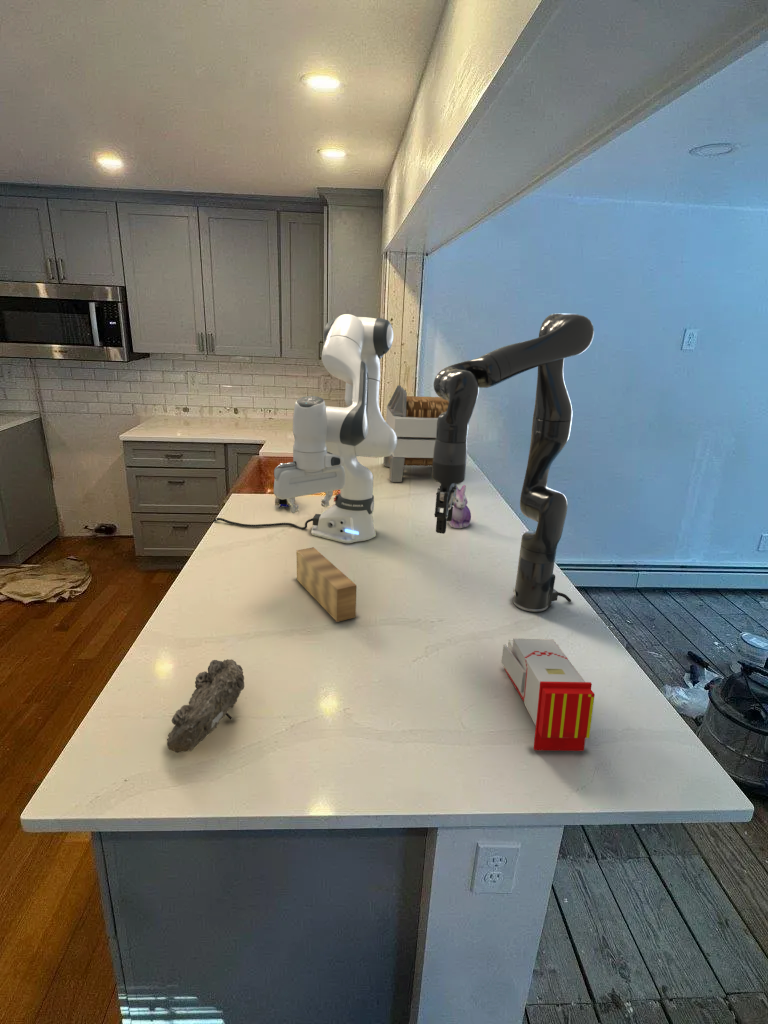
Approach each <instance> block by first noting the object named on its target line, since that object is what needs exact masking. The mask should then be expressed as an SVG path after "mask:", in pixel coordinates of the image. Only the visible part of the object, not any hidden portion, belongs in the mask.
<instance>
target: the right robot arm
mask: <svg viewBox="0 0 768 1024" xmlns="http://www.w3.org/2000/svg"><path fill="white" fill-rule="evenodd" d="M594 335H595V330H594V324H593V323H592V321H591V319H589V318H588V317H587V316H585V315H582V314H578V313H562V312H561V313H559V312H558V313H551V314H549V315H548V316H546V317H545V319H544V320H543V321H542V323H541V325H540V328H539V332H538V337H536V338H533V339H528V340H524V341H519V342H515V343H512V344H511V343H510V344H507V345H504V346H501V347H498V348H496V349H493V350H491V351H490V352H487V353H485V354H483V355H481V356H479V357H477V358H473V359H469V360H465V361H461V362H457V363H454V364H450V365H448V366H446V367H444V368H443V369H441V370H440V371H439V372H438V373H437V374H436V376H435V377H434V380H433V390H434V393H435V394H436V395H437V397H441V398H442V399H445V400H448V401H449V405H448V408H447V412H444V413H441V414H440V415H439V417H438V419H437V429H436V440H435V445H434V453H433V466H432V465H431V467H432V468H431V479H432V480H434V481H435V482H438V483H440V484H439V487H438V488H437V491H436V493H435V495H436V496H435V497H436V498H435V508H434V509H435V510H434V514H433V515H434V518H436V523H435V532H436V534H442V535H444V534H446V533H447V524H448V522H449V521H451V520H452V514H453V507H454V504H455V502H454V501H455V500H456V492H457V487H458V484H462V483H463V482H464V481H465V479H466V469H467V459H468V437H469V425H470V421H471V418H472V416H473V413H474V409H475V407H476V404H477V401H478V397H479V392H480V388H481V389H487V388H492V387H494V386H496V385H499V384H501V383H503V382H506V381H507V380H509V379H511V378H513V377H516V376H518V375H520V374H522V373H525V372H528V371H529V370H532V369H535V368H537V376H536V377H537V378H536V389H535V401H534V408H533V415H532V422H531V423H532V425H531V434H530V442H529V443H530V444H529V451H528V457H527V463H526V464H527V465H526V470H525V474H524V479H523V484H522V487H521V493H520V499H519V508H520V512H521V514H522V515H523V516H524V517H526V518H528V519H531V521H535V522H537V525H536V528H535V530H529V531H526V532H524V533H523V534H522V535H521V541H520V548H519V549H520V550H519V557H518V564H517V570H516V578H515V585H514V588H512V592H513V598H512V603H513V605H514V606H515V607H516V608H518V609H519V610H521V611H522V610H523V611H526V612H530V613H540V612H544V611H546V610H547V609H548V608H551V606H552V602H556V601H558V597H562V598H564V599H565V600H566V601H567V602H568V603H572V599H571V598H570V597H569V596H568V595H567V594H566V593H562V592H560V591H558V590H556V589H555V582H556V574H555V573H554V568H555V562H556V556H557V549H558V545H559V542H560V541H561V539H562V536H563V532H564V526H565V522H566V517H567V513H568V499H567V497H566V495H565V494H564V493H563V492H560V491H559V490H555V489H553V488H550V487H548V478H549V473H550V469H551V466H552V464H553V463H554V462H555V460H556V459H557V457H558V456H559V455H560V454H561V452H562V451H563V450H564V448H565V447H566V445H567V443H568V441H569V439H570V436H571V430H572V429H571V428H572V422H573V408H572V407H573V406H572V402H571V399H570V395H569V392H568V389H567V387H566V383H565V378H564V377H565V376H564V364H565V359H567V358H571V357H574V356H578V355H581V354H582V353H583V352H585V351H586V350H588V348H590V346H591V345H592V342H593V339H594ZM441 509H443V510H442V512H441Z"/></svg>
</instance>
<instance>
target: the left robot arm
mask: <svg viewBox="0 0 768 1024" xmlns="http://www.w3.org/2000/svg"><path fill="white" fill-rule="evenodd" d="M323 329H324V330H323V341H324V343H323V347H322V350H321V351H322V352H321V363H322V365H323V367H324V368H325V370H326V372H328V374H329V375H331V376H332V377H334V378H336V379H337V380H339V381H342V382H344V383H345V388H344V389H345V390H344V403H345V405H346V407H340V406H329V405H326V401H325V399H324V398H322V397H321V396H317V395H307V396H306V395H305V396H301V397H300V398H297V399H296V400H295V403H294V407H293V415H292V434H293V438H294V441H293V446H292V461H289V462H286V463H284V462H281V463H278V465H277V466H276V467H274V470H273V477H274V480H273V494H274V496H275V498H276V497H278V498H279V499H287V501H288V503H289V504H290V505H289V506H290V512H291V513H292V514H296V513H299V512H300V510H299V505H298V504H295V502H296V498H299V497H305V496H311V495H316V494H321V493H324V494H325V495H324V498H323V499H322V498H321V500H320V502H321V504H320V505H321V507H323V508H326V507H328V508H326V509H325V510H323V512H321V513H315V514H314V515H313V517H312V518H309V519H307V520H306V521H305V522H304V526H303V527H301V526H299V525H297V524H294V523H291V522H275V523H274V522H273V523H261V524H260V523H259V524H250V523H249V524H247V523H241V522H235V521H231V520H228V519H225V518H222V517H217V518H213V520H212V523H215V522H217V521H221V522H224V523H227V524H229V525H236V526H239V527H245V528H246V527H247V528H262V527H263V528H264V527H275V526H276V527H277V526H291V527H293V528H296V529H299V530H306V529H307V528H308V524H309V523H310V522H312V528H311V530H310V533H311V536H315V537H319V538H323V539H326V540H330V541H336V542H339V543H343V544H352V543H357V542H365V541H368V540H372V539H373V538H375V537H376V535H377V532H376V528H375V523H374V513H373V512H374V509H375V496H374V474H373V472H372V471H371V469H369V468H368V467H366V466H365V465H364V464H362V463H360V461H359V460H358V457H360V458H361V457H362V458H374V459H377V458H378V459H379V458H384V457H387V456H390V455H391V454H392V453H393V452H394V451H395V449H396V446H397V436H396V433H395V432H394V430H393V429H392V428H391V427H390V426H389V425H388V424H387V423H386V419H384V417H383V415H382V412H381V409H380V383H381V361H380V360H381V359H382V358H383V357H384V355H386V354H387V353H388V352H389V351H390V350H391V348H392V345H393V342H394V330H393V329H394V328H393V326H392V324H391V322H390V321H389V320H388V319H386V318H381V317H377V318H376V317H375V318H374V317H368V316H356V315H354V314H350V313H345V314H341V315H339V316H337V317H336V318H332V319H330V320H329V321H328V322H327V323H326V324H325V326H324V328H323ZM334 491H338V492H337V494H336V495H335V496H334ZM333 496H334V497H333ZM332 497H333V502H334V504H333V505H331V506H330V500H331V499H332ZM216 519H217V520H216Z"/></svg>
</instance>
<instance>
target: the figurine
mask: <svg viewBox="0 0 768 1024" xmlns="http://www.w3.org/2000/svg"><path fill="white" fill-rule="evenodd" d="M466 489H467V485H465V484H463V485H462V486H461V488H460V489H459V488H458V486H457V492H456V500H455V501H454V502H455V504H454V506H453V514H452V520H451V521H448V524H449V526H450V527H451V528H454V529H462V528H467V527H469V526H470V523H471V519H472V513H471V510H470V508H469V507H468V503H469V502H468V498H467V496H466Z"/></svg>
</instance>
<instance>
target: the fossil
mask: <svg viewBox="0 0 768 1024" xmlns="http://www.w3.org/2000/svg"><path fill="white" fill-rule="evenodd" d="M243 670H244V669H243V667H242V665H240V664H237V662H236V661H235V660H234V659H232V658H231V659H227V658H226V659H224V660H223V661H222V660H217V659H212V660H211V661H210V663H209V665H208V666H207V671H201V672H199V673H198V674H197V675H196V676H195V680H194V684H195V685H194V687H195V689H194V690H193V693H192V694H191V697H190V698H189V700H188V704H184V705H182V706H181V707H180V709H177V710H176V711H175V713H174V715H173V716H172V718H171V723H172V724H173V727H172V730H171V731H170V732H168V734H167V738H166V741H167V742H166V745H167V749H168V750H169V751H173V752H174V753H176V754H178V753H182V752H188V751H189V752H192V751H193V750H195V748H196V747H197V746H199V744H200V743H201V742H203V741H204V740H205V739H206V738H207V737H208V736H209V735H210V734H211V733H212V732H214V730H215V729H217V727H218V726H219V724H220V722H221V721H222V720H223V719H224V718H225V716H226V717H227V719H229V720H233V717H232V715H230V714H229V710H230V709H231V708H234V706H235V704H236V703H237V702H238V699H239V697H240V695H241V693H242V691H243V690H245V689H244V688H245V675H244V671H243Z"/></svg>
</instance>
